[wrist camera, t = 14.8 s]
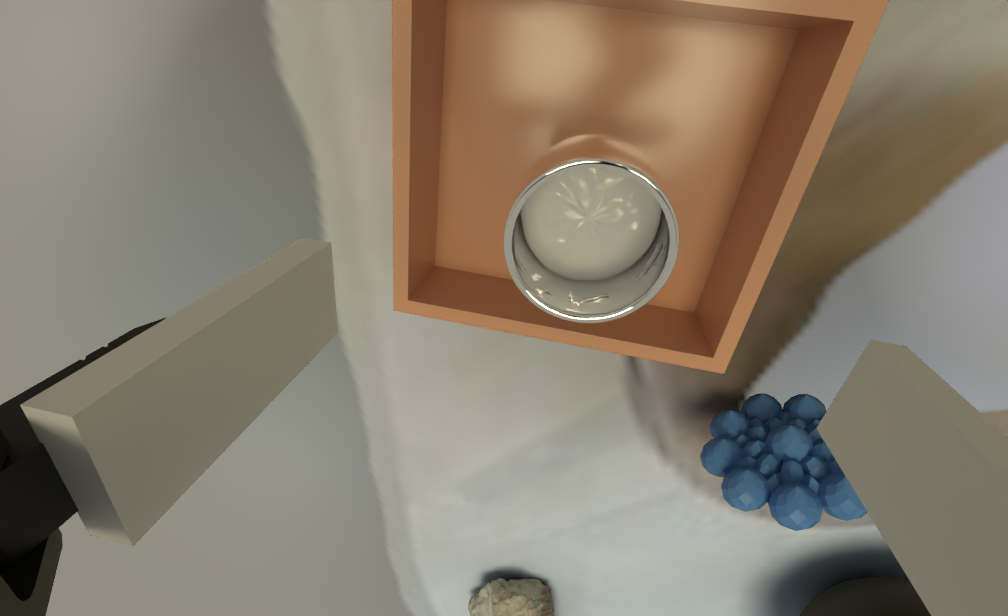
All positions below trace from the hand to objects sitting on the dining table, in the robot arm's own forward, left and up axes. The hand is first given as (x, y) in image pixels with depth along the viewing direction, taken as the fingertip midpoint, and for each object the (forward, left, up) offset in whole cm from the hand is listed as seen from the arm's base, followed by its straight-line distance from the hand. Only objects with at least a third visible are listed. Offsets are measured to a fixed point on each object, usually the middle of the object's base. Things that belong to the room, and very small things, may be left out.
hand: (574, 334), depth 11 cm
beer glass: (0, 0, -22) cm, 22 cm away
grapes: (-18, +17, -23) cm, 34 cm away
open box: (0, 0, -22) cm, 23 cm away
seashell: (-2, +53, -23) cm, 57 cm away
